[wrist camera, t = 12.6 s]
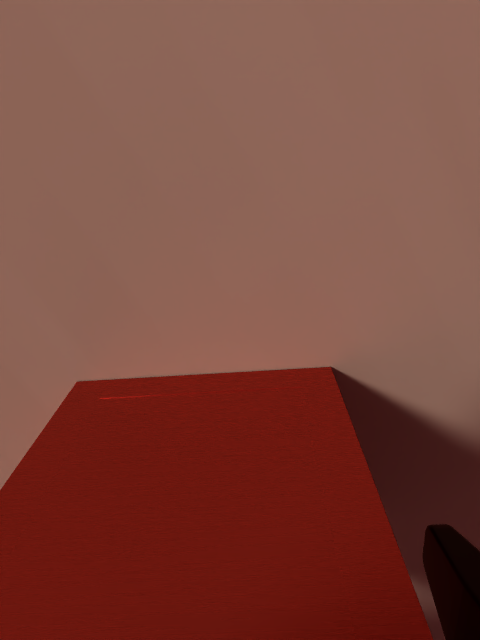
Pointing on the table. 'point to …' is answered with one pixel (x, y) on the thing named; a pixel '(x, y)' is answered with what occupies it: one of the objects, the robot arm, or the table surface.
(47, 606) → the red arch stool
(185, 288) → the table surface
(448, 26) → the table surface
